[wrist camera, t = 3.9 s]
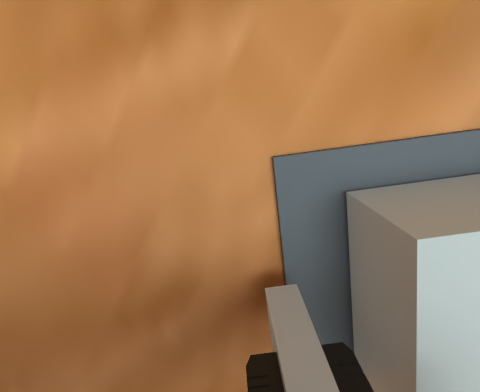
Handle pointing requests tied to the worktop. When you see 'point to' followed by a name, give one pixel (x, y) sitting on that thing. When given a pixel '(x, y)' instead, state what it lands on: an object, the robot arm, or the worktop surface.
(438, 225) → the hole block
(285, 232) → the rubber mat
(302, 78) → the worktop surface
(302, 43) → the worktop surface
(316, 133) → the worktop surface
